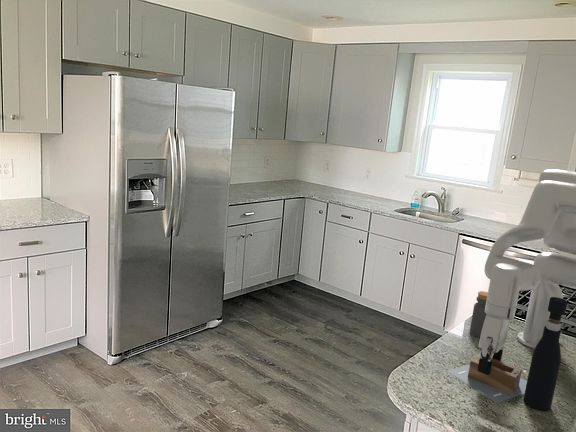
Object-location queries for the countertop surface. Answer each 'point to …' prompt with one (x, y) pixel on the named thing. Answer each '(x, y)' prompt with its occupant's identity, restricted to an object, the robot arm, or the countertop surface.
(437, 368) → the countertop surface
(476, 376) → the frame
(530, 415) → the countertop surface
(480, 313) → the bottle
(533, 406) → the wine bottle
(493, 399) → the board
